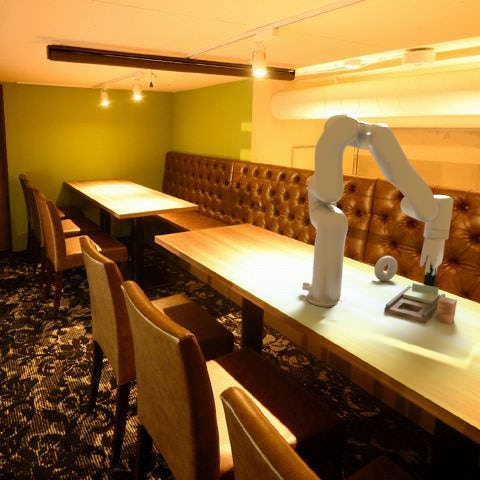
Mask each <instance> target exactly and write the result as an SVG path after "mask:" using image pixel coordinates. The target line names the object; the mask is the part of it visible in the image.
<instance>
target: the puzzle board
mask: <svg viewBox="0 0 480 480" xmlns="http://www.w3.org/2000/svg"><path fill="white" fill-rule="evenodd" d="M410 288H412V286H411V285H408V286H407V287H405V288H404V289H403V290H402V291H401V292H400V293H398V294H397V295H396V296H394V297H393V298H392V299H390V300H389V301H388V302H387V303H386V304H385V307H384V312H383V313H385V314H388V315H392V316H395V317H400V318H402V319H408V320H409V321H414V322H417V323H422V324H426V323H427V322H428V320H429V319H431V317H432V316H433V315H434V314H435V313H437V307H438V300H439V299H440V298H441V297H442V296H443V297H446V294H445V293H441V294H440V296H439V297H438V298H437V299H436V300H435V301H434V302H433V303H432V304H429V303H425V302H421V301H417V300H413V299H409V298H405V297H403V294H404V293H405V292H406V291H408V290H409V289H410Z"/></svg>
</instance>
